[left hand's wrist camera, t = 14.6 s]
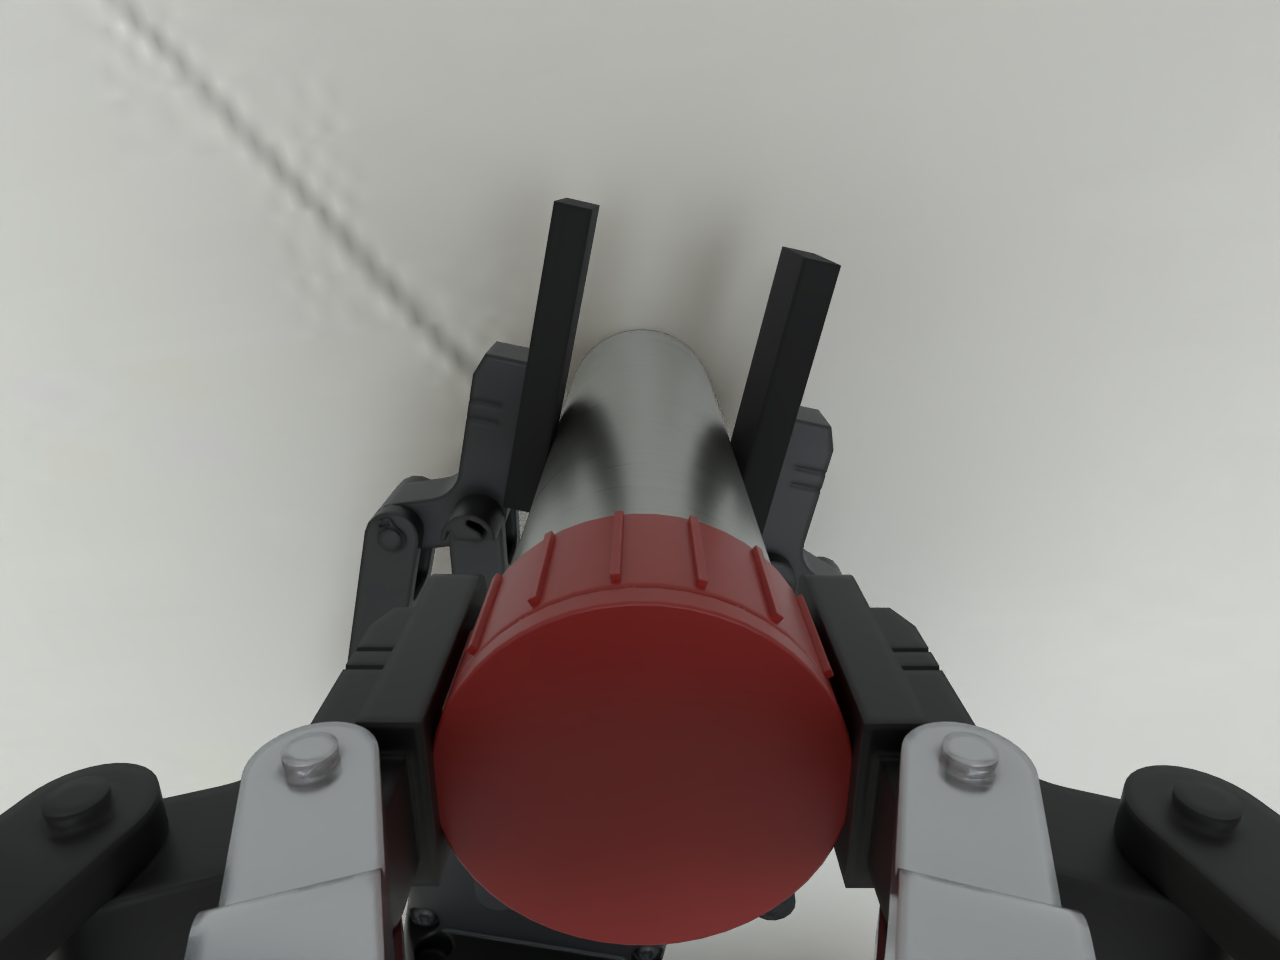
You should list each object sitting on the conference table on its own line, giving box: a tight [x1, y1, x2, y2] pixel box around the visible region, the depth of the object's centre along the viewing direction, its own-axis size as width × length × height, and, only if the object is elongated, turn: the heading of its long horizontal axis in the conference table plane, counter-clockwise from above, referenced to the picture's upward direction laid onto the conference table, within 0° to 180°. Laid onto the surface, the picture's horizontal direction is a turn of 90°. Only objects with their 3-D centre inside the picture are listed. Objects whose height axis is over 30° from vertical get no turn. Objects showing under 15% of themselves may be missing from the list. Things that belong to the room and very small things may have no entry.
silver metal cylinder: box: [513, 330, 771, 564], centre depth 17 cm, size 4×4×16 cm
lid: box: [433, 511, 852, 945], centre depth 10 cm, size 5×5×2 cm
